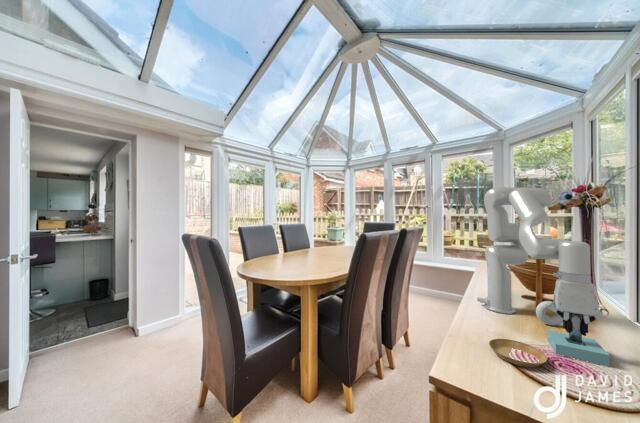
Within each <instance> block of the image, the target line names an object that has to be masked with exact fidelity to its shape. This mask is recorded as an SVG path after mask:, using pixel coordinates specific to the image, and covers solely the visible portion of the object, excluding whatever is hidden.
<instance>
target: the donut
mask: <svg viewBox="0 0 640 423" xmlns="http://www.w3.org/2000/svg"><path fill="white" fill-rule="evenodd" d="M552 302H553V301H551V300H544V301H541V302H540V303H539V304H537V306H536V308H535V315H536V317H537V319H538V320H539V321H540V322H542V323H543V324H546V325H547V326H548V325H549V326H559V325H562V324H563V318H562V317H561V316H560V315H558V314H557V313H555V312H554V315H553V316H549V315H548V314H547V311H549V310H550V309H549V306H550V305H551V303H552ZM556 309H557V308H556ZM561 312H562V311H561Z"/></svg>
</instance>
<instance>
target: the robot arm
mask: <svg viewBox="0 0 640 423" xmlns="http://www.w3.org/2000/svg"><path fill="white" fill-rule="evenodd" d="M551 200H552V198H551V194H550V192H549V191H547V190H546V189H545V188H541V187H505V186H504V187H501V186H500V187H494V188H490V189H489V190H487V191H486V193H485V194H484V198H483V204H484V208H485V211H486V215H487V216H486V217H487V236H488V239H489V240H490V241H492V242H496V243H510V244H509V245H508V244H492V245H489V246H487V247H486V248H485V250H484V257H485V262H486V268H487V296H486V297H485V298H483V297H477V298H476V300H477V302H479V303H481V304H483V307H484V308H485V309H486V310H489V311H490V312H491V311H492V312H494V313H498V314H499V313H500V314H505V315H507V314H509V315H512V314H513V315H514V314H516V313H517V310H516V308H515V307H513V306H512V303H513V302H512V273H511V271H510V270H509V268H508V265H510V266H511V265H512V266H514V265H517V266H519V265H524V264H526V263H527V261H528V259H529V256H530V257H531V258H533V259H537V260H558V270H557V272H553V273H552V275H553V277H555V278H557V279H556V281H555V283H554V284H555V285H554V290H553V301H552V303H551V305H550V306H549V310H550V311H552V312H554V314H555V313H557V314H558V315H560V316H561V317H562V318H563V323H562V327H563V329H564V330H565V331H566V334H569V333H571V322H570V321H569V312H570V313H576V314H581V315H582V337H587V334H589V325H590V324H591V323H592V322H594V321H596V320H599V319H603V318H604V317H605V315H604V314H603V313H602V311H601V310H600V307H599V299H598V292H597V289H596V285H595V284H594V283H592V282H591V278H592V277H591V276H592V275H591V246H590V245H589V243H587V242H585V241H576V240H575V241H574V240H568V239H563V238H562V239H561V238H538V237H537V234H535V232H534V230H533V227H535V226H536V227H537V226H539V225H541V224H542V223H544V222H545V221H546V220H547V218H548V213H547V211H546V210H545V209H544V208H546V207H547V206H549V205H550V203H551ZM504 206H512V208H513V209H514V211H515V213H516V214H517V216H518V218H519V219H520V221H521V224H520V223H515V222H513V223H512V222H509V214H508V212H507V210H506V209H505V207H504ZM556 308H557V309H556ZM561 311H562V312H561Z"/></svg>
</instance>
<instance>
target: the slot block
mask: <svg viewBox="0 0 640 423" xmlns="http://www.w3.org/2000/svg"><path fill="white" fill-rule="evenodd" d="M546 332H547V341H548V343H549V345H550V347H551V348H553V349H552V351H553V350H554V351H553V353H554V354H555V353H556V354H559V355H564V356H568V357H572V358H575V359H574V360H577V359H579V360H578V361H581V360H584V361H583V362H585V361H588V362H587V363H590V362H592V363H591V364H596V365H598V366H599V365H600V366H604V367H608V368H610V366H611V365H610V364H611V363H610V354H609V353H608V352H607V351H606V350H605V349H604V348H603V347H602V346H601V344H600V343H598V341H596V339H595V338H589V337H586V336H582V343H577V342H574V341H571V340H570V339H569V333H564V332H558V331H553V330H547V331H546ZM556 354H555V355H556ZM559 355H558V356H559ZM564 356H563V357H564ZM568 357H567V358H568ZM572 358H571V359H572Z"/></svg>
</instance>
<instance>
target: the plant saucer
mask: <svg viewBox="0 0 640 423" xmlns="http://www.w3.org/2000/svg"><path fill="white" fill-rule="evenodd" d="M488 346H489V347H490V348H491V351H493V352H494V354H496V356H497V357H499V358H501V359H502V360H504V361H505V362H507V363H510V364H512V365H516V366H519V367H523V366H524V367H525V368H536V367H539V366H541V365H543V364H546V362H547V361H548V356H547V355H546V354H545V353H544V352H543V351H542V350H540V349H538V348H536V347H534V346H533V345H530V344H528V343H525V342H521V341H519V340H513V339H507V338H494V339H491V340H489V342H488ZM512 348H513V349H518V350H521V351H523V352H526V353H528V354H531V355H533V356H535V357H536V358H537V359H538V360H539V363H529V362H524V361H519V360H515V359H512V358H511V357H510V356H509V353H510V351H511V349H512ZM525 361H526V360H525Z"/></svg>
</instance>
